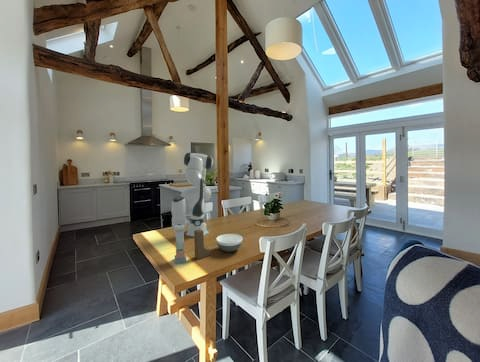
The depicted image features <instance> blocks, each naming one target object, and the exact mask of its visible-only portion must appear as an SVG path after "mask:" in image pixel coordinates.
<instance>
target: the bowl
mask: <svg viewBox="0 0 480 362" xmlns="http://www.w3.org/2000/svg"><path fill="white" fill-rule="evenodd" d="M243 239H244V238H243V236H242V235H240V234H236V233H224V234H220V235H218V236H217V237H216V238H215V240H216V244H217V246H218V248H219V249H220V250H222V251H224V252H226V253H232V252H235V251H236V250H238V249H240V247H241V246H242V243H243Z"/></svg>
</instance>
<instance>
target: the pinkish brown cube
mask: <svg viewBox="0 0 480 362" xmlns="http://www.w3.org/2000/svg"><path fill="white" fill-rule="evenodd" d="M185 254H186V253H185V248H184V249H181V250H176V249H175V255H176V259H181V258H185Z"/></svg>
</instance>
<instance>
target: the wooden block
mask: <svg viewBox="0 0 480 362" xmlns="http://www.w3.org/2000/svg"><path fill="white" fill-rule="evenodd" d="M204 236H205V235H204V233H203V230H201V229H199V230H195V231H194V238H193V240H194V258H196V259H197V260H200V259H204V258H206V257H208V256H209V257H210V256H211V249H210V248H209V247H206V246H205V241H204V240H205V239H204Z"/></svg>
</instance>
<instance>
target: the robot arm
mask: <svg viewBox="0 0 480 362" xmlns="http://www.w3.org/2000/svg"><path fill="white" fill-rule="evenodd" d="M183 165H184V166H186V170H185V173H184V176H185V179H186V181H187V182H188V183H189V184H190V185H192V186H195V187H196V188H188V189H185V190H183V191H181V194H180V196H177V197H175V198H173V199H171V200H172V201H171V208H170V209H171V216H172V217H171V227H172V228H173V229H172V230H173V231H174V235H175V243H176V242H177V244H178V245H179V248H180V247H182V243H183V239H185V238H184V237H185V236H184V235H186V236H187V237H192V238H193V237H194V231H195V230H199V229H201V230H203V233H204V236H206V235H208V234H210V233H209V232H210V231H208V230H207V223H206V222H205V216H204V214H205V213H206V201H207V200H210V199H211V197H212V191H211V190H210V188H209V187H208V186H207V185H206V174H207V170H211V169H212V167H213V166H214V158H213V156H211V155H208V154H204V153H198V152H196V153H193V152H186V153H185V154H184V157H183ZM187 216H190V218H189V224H188V223H187V219H188V218H187ZM186 228H187V231H186V232H185V230H186Z"/></svg>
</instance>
